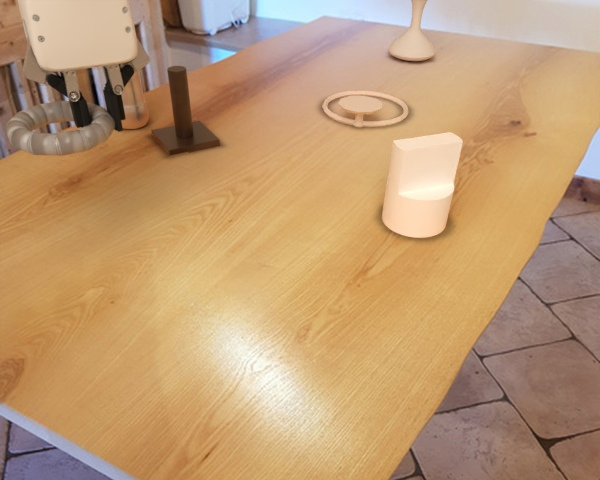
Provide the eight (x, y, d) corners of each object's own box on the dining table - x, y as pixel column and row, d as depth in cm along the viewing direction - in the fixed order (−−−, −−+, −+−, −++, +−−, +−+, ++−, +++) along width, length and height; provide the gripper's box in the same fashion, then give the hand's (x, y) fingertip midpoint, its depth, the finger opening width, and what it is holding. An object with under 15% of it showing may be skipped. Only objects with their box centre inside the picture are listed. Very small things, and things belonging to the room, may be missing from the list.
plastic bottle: (139, 116, 104) (118, -2, 91) (158, 127, 100) (139, 6, 87) (107, 125, 100) (81, 3, 87) (126, 137, 97) (101, 12, 84)
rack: (170, 158, 91) (158, 81, 82) (152, 138, 96) (140, 64, 88) (220, 147, 94) (214, 72, 86) (200, 128, 100) (192, 56, 92)
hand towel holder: (415, 79, 110) (405, 118, 95) (412, 100, 113) (401, 142, 97) (332, 70, 113) (309, 106, 97) (331, 91, 115) (309, 129, 100)
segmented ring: (19, 167, 54) (12, 147, 53) (3, 126, 61) (-3, 107, 60) (127, 146, 58) (123, 127, 57) (101, 110, 65) (97, 92, 64)
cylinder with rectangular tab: (425, 200, 82) (440, 123, 74) (458, 232, 75) (478, 151, 68) (370, 210, 79) (380, 131, 72) (400, 244, 73) (414, 161, 65)
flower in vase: (377, 56, 134) (390, -65, 118) (407, 47, 140) (423, -70, 124) (420, 70, 127) (440, -57, 111) (449, 60, 133) (472, -62, 117)
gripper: (136, -75, 55) (160, 106, 67) (-43, -69, 49) (19, 129, 61) (161, -63, 50) (182, 129, 62) (-34, -56, 44) (31, 157, 56)
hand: (101, 128), depth 61 cm, fingers closed on segmented ring, 2 cm apart
